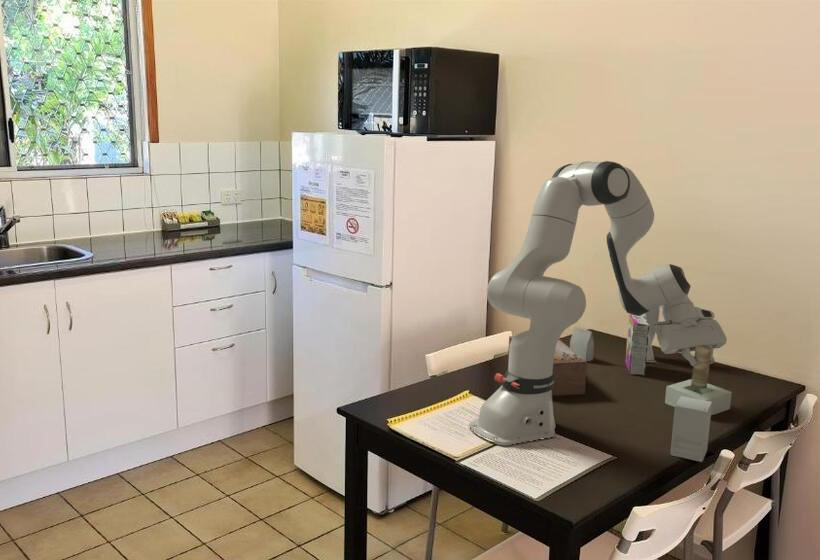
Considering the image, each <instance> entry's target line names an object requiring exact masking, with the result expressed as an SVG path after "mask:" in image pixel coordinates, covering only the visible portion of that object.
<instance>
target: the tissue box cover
mask: <svg viewBox="0 0 820 560" xmlns="http://www.w3.org/2000/svg"><path fill="white" fill-rule="evenodd" d="M515 336H516V335H511V336H509V337H508V349H509V348H510V343H511V341H512V339H513V338H514V337H515ZM507 354H508V355H507V367H508V366H509V350H508V353H507ZM587 367H588V362H587V361H586V360H585V359H583V358H582V357H581V356H579V355H578V354H577V353H576V352H574V351H573V350H572V349H571V348H570V346H568V345H567V344H565V342H564V341H562V340H560V338H559V339H558V341H557V344H556V348H555V354H554V362H553V373H554V387H553V389H552V397H553V396H555V397H557V396H569V395H570V396H573V395H585V393H586V380H587Z"/></svg>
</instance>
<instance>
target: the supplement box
mask: <svg viewBox="0 0 820 560" xmlns="http://www.w3.org/2000/svg"><path fill="white" fill-rule="evenodd" d="M711 409H712V402H710V401H705V400H700V399H694V398H689V397H684V396H681V397H680V399H679V400H678V402H677V403H676V405H675V407H674V412H673V413H674V414H673V422H672V434H671V435H672V436H671V443H670V444H671V446H670V456H674V457H678V458H683V459H686V460H691V461H696V462H700V463H703V461H704V459H705V457H706V454H707V453H708V444H709V435H710V426H711V417H712V415H711Z"/></svg>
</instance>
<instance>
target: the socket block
mask: <svg viewBox="0 0 820 560" xmlns="http://www.w3.org/2000/svg"><path fill="white" fill-rule="evenodd" d="M691 383H692V378H691V379H687V380H683V381H680V382H676V383H672V384H669V385H666V388H665V397H664V404H666V405H668V406H670V407H674V408H675V405H676V403H677V402H678V400H679V399H680V397H681V396H684V397H689V398H694V399H700V400H705V401H710V402H712V409H711V416H713V415H717V414H720V413H723V412H725V411H728V410H731V403H732V402H731V401H732V393H733V392H732V391H730V390H727V389H724V388H722V387H719V386H717V385H716V386H715V385H713V384H711V383H708V382H707V388H704V389H700V388H695V387H693V386H691Z"/></svg>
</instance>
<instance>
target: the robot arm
mask: <svg viewBox="0 0 820 560" xmlns="http://www.w3.org/2000/svg"><path fill="white" fill-rule="evenodd" d="M600 205H601V206H602V205H603V206H604V208H605V211H606V213H607V215H608V218H609V220H610V230H609V231H608V233H607V234H606V245H607V249H608V253H609V259H610V262H611V266H612V269H613V270H612V271H613V273H614V277H615V280H616V282H617V287H618V296H619V301H620V304H621V306H622V308H623V310H624V311H625V312H626V313H628V315H631V314H632V315H636V316H641V315H643V314H645V313H647V312H648V311H650V310H652V309H654V308H656V307H660V311H661V314H662V317H663V319H664V320H663V321H658V322H657V323H656V324H655V325H654V330H655V332H656V333H655V335H656V339H657V341H658V345H659V347H660V350H661V352H662V353H663V354H665V355H671V354H681V355H682V357H684V359H686V360H687V361H688V362H689V364H690V366H691V367H693V366H696V365H697V364H699V361H698V359H697V357H695V355H693V354H692V353H691V352H695V348H696V346H708V347H710V348H711V357H710V365H711V364H714V363H715V362H716V360H715V358H714V350H715V349H720V348H722V347H723V346H724V345H726V344H727V340H728V338H727V336H726V334H725V331H724V330H723V327H722V326H721V325H720V323H719V322H718V321H717V320H716V319H715V313H714V311H712V310H709V309H704V308H701V307H699V306H695V305H694V303H693V302H692V300H691V299H690V298H689V295H688V294H689V293H690V291H691V287H692V286H691V284H690V283H689V281H688V279H687V278H686V275H685V271H684V270H683V269H682V267H680V266H679V265H675V264H671V263H669V264H667V265H666V264H664V265H660V266H656V267H655V268H653V269H652V270H651V271H649V272H647V273H644V274H645V275H644V274H643V275H641V276H638V277H636V278H632V277H631V273H630V270H629V265H628V260H627V257H628V253H629V252H630V251H631V249H632V248H633V247H634V246H635V245H636V244H637V243H638V242H639V241H641V239H642V238H644V237H645V235H647V233H648V232H649V231H650V230H651V228H652V226H653V224H654V221H655V212H654V208H653V206H652V203H651V200H650V198H649V195H648V194H647V192H646V190H645V188H644V187H643V184H642V183H641V182H640V180H639V179H638V177H637V176H636V174H635V173H634V171H632V170H631V168H628V167H627V166H623V165H622V164H620V163H619V162H615V161H608V160H605V161H589V160H587V161H582V162H577V163H569V164H568V163H567V164H565V165H563V166H561V167H558V168H557V169H556V170H555V171H554V173H553V175H552V177H550V178H548V179H547V180H546V181H544V183H543V184H542V186H541V188H540V191H539V193H538V195H537V197H536V201H535V203H534V206H533V209H532V212H531V213H532V214H531V217H530V221H529V225H528V230H527V232H526V235H525V239H524V240H523V245H522V247H521V248H520V251H519V252H518V254H517V255H516V257H515V258H514V259H513V260H512V261H511V263H510V264H508V265H507V266H506V267H505V268H503V269H501V270H500V271H498V272H496V273H495V274H494V275H493V276H492V277H491V278H490V279H489V282H488V284H487V287H486V297H487V301H488V303H489V305H490V306H491V307H492V308H493V309H496V310H498V311H499V312H502V313H505V314H506V315H510V316H515V317H520V318H524V319H525V318H526V319H529V320H530V325H529V329H528V330H525V331H522V332H520V333H517V334H516V335H514V336H515V337H514V338H513V339H512V341H511V343H510V348H509V347H508V351H509V366H508V365H507V367H508V368H507V369H506V372H505V374H501V373H499V372H497V373H496V374H495V375H494V376H493V377H494V381H496V382H499V383H500V384H501V386H499V388H497V389H496V390H495V392H494V393H493V394H492V395H490V397H488V399H486V400H485V401H484V402H483V403H482V404H481V406H480V410H479V413H478V414H479V415H478V418H476V419H474V420H472V421H470V422H469V424H468V427H469V426H470V428H471V429H472V430H473V431H475V432H476V433H478V434H480V435H481V436H483V437H485V438H488V439H490V440H493V441H494V442H495V445H499V446H502V447H503V446H505V447H507V446H512V444H513V445H517V444H516V443H519V444H522V443H521V442H524V443H527V442H526V441H530V442H532V441H531V440H536V439H541V438H548V439H550V438H549V437H553V438H555V437H556V431H555V429H556V427H557V425H556V421H555V418H554V417H555V416H554V407H553V406H554V404H553V396H552V389H553V387H554V373H553V362H554V354H555V348H556V344H557V341H558V339H559V340H560V337H561V335H562V334H563V333H564V331H565V330H566V329H568V328H570V327H571V326H572V325H574V324H576V323H577V322H578V321H579V320H580V319H581V318H582V317H583V315H584V313H585V311H586V307H587V297H586V295H585V292H584V290H583V288H582V287H580V286H579V285H577V284H575V283H572V282H570V281H568V280H565V279H561V278H556V277H551V276H549V277H548V276H546V275H544V274H545V272H546V271H547V269H549V268H550V267H551V266H552V265H555V264H557V263H560V262H562V261H563V260H565V259H566V258H567V257H568V256H569V253H570V251H571V248H572V247H571V246H572V244H573V239H574V235H575V231H576V227H577V226H576V225H577V223H578V222H577V221H578V215H579V211H580V208H581V207H582V206H587V207H593V206H600ZM694 357H695V358H694ZM474 427H476V428H474ZM470 428H469V429H470ZM495 438H496V439H497V440H495ZM536 441H537V440H536Z"/></svg>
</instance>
